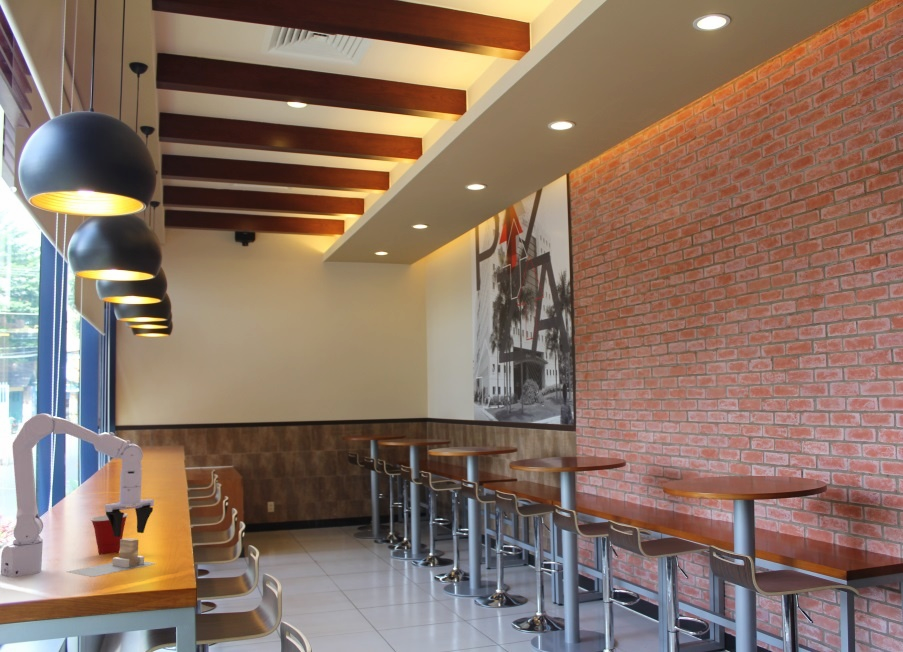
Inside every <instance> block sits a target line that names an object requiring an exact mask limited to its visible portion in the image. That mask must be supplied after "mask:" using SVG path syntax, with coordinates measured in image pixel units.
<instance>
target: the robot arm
mask: <svg viewBox="0 0 903 652" xmlns="http://www.w3.org/2000/svg"><path fill="white" fill-rule="evenodd" d="M52 433H53V435H59V434H66V435H69V436H71V437H75V438H77V439H80V440H81V441H85V442H87V443H89V444H92V445H93V446H94V449H95V451H96V452H99V453H101V454H104V455H106V456H107V457H110V458H113V459H115V460H118V459H119V460H121V470H120V478H119V501H118V502H112V503H109V504H108V503H107V504H104V512H105V515H107V517H108V519H109V521H110V523H111V526H112V530H113V534H114V536H115V537H120V535H121V524H122V519H123V515H124V513H125V512H124V511H123V510H130V509H132V510H133V509H134V510H135V514H136V531H137V533H139V534H140V533H141V534H144V532H145V529H146V525H147V523H148V520H149V518H150V516H151V515H152V512H153V510H154V506H155V505H154V502H155V500H154V499H150V498H148V499H142V479H143V478H142V475H143V471H142V467H143V464H142V460H143V457H144V455H143V450H142V448H141V447H140V446H139V445H137V444H136V443H131V440H129V439H127V440H124V439H123V438H120V437H119V436H116V435H115V433H114V432H112V431H110V432H106V431H105V432H102V433H99V434H98V433H97V432H95V431H94V430H93V431H92V430H91V429H88V428H86V427H84V426H82V425H80V424H78V423H76V422H73V421H71V420H69V419H66V418H63V417H58V416H56V415H55V416H53V415H52V414H49V413H38V414H35V415H33V416H32V417H30V418H29V419H28V420H27V421H25V422H24V424H23V426H22V427H21V429H20V430H19V432H18V434H17V436H16V437H15V439H14V440H13V442H12V447H11V448H12V457H13V469H14V483H15V496H16V497H15V498H16V524H15V526H14V528H13V536H14V540H13V541H12V544H11V545H10V544H9V545H6V546H5V547H3V548H2V552H1V556H0V557H1V558H0V559H1V560H0V575H1V576H6V577H11V578H16V577H20V576H21V577H22V576H27V575H33V574H39V573H40V572H42V568H43V567H42V565H43V564H42V563H43V545H44V543H43V540H44V539H43V538H42V537H41V536H40V534H41V533H42V532H43V529H44V523H43V520H42V519H41V518H40V515H39V509H38V505H37V492H36V491H37V490H36V480H35V479H36V478H35V469H34V466H35V465H34V456H33V449H34V448H35V446H36V445H37V444H38V443H39V442H40V441H41V440H42V439H44V438H45V437H47V436H49V435H50V434H52ZM122 511H123V512H122Z"/></svg>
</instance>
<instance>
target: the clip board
mask: <svg viewBox="0 0 903 652" xmlns="http://www.w3.org/2000/svg"><path fill="white" fill-rule="evenodd" d="M129 560H130V559H124V558H120V557H112V562H110V563H105V564H99V565H94V566H89V567H88V566H87V567H83V568H79V569H74V570H69V571H66V573H70V574H71V573H72V574H75V575H81V576H86V577H91V578H93V577H99V576H105V575H108V574H113V573H119V572H123V571H128V570H132V569H134V570H135V569H137V568H144V567H149V566H153V565H156V564H157V563H155V562H150V561H145V556H143V555H138V565H133V566H129Z"/></svg>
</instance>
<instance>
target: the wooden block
mask: <svg viewBox="0 0 903 652" xmlns="http://www.w3.org/2000/svg"><path fill="white" fill-rule="evenodd" d="M138 556H139V539H136V538H130V537H127V538H126V537H125V538H122V539H120V551H119V558H124V559H130V560H129V566H133V565H138Z"/></svg>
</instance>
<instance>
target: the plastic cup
mask: <svg viewBox="0 0 903 652" xmlns="http://www.w3.org/2000/svg"><path fill="white" fill-rule="evenodd" d="M123 513H124V515H123V519H122V524H121V535H120V537H115V536H114V534H113V530H112V526H111V523H110V521H109V519H108V517H107V515H106V514H105V515H104V514H103V515H99V516H95V517H92V518H90V521H91V522H92V525H93V528H94V534H95V539H96V540H95V541H96V545H97V546H96V547H97V551H98V552H97V553H98V556H101V555H107V554H111V553H112V554H114V553H115V554H120V539H123V535H124V529H125V525H126V520H127V517H128V513H125V512H123Z"/></svg>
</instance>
